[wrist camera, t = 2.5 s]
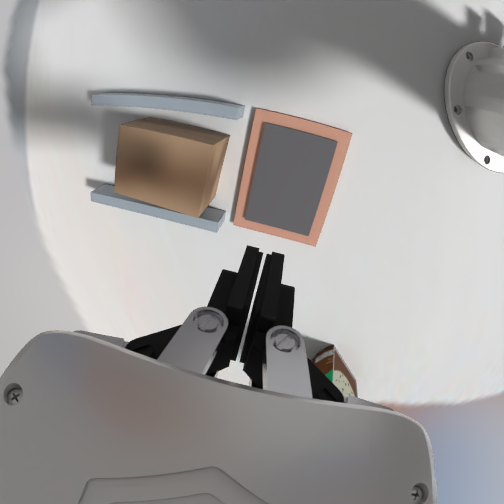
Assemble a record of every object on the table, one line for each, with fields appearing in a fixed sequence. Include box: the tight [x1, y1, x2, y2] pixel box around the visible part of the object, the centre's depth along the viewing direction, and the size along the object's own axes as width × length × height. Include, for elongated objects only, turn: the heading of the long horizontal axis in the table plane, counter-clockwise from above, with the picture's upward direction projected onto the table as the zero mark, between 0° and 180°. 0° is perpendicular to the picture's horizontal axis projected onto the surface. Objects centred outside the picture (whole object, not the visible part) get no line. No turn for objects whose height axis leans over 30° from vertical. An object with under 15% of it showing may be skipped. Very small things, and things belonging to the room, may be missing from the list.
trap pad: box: [233, 108, 352, 247], centre depth 24 cm, size 11×8×1 cm
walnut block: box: [114, 117, 230, 218], centre depth 23 cm, size 6×8×5 cm
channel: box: [91, 93, 245, 232], centre depth 24 cm, size 11×14×2 cm
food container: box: [312, 345, 358, 398], centre depth 33 cm, size 12×6×10 cm, turn 33°
